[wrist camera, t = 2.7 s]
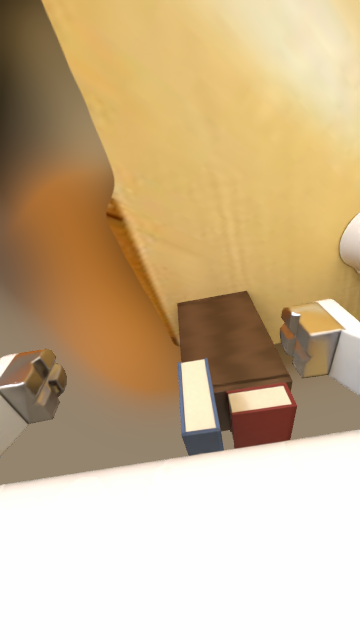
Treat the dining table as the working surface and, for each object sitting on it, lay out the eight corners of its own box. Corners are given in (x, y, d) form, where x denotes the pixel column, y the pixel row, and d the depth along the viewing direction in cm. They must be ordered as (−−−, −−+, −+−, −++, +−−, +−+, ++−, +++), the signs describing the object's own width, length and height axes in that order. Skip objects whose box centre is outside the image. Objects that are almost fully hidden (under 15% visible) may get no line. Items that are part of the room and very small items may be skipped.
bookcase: (246, 290, 57) (292, 381, 36) (247, 329, 64) (285, 422, 44) (177, 303, 58) (184, 397, 38) (185, 339, 65) (195, 434, 45)
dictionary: (285, 382, 36) (297, 405, 33) (280, 423, 44) (289, 445, 41) (225, 391, 37) (231, 415, 34) (230, 430, 44) (235, 452, 41)
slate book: (207, 357, 32) (220, 430, 25) (219, 431, 45) (230, 496, 37) (177, 362, 33) (181, 436, 25) (197, 434, 45) (204, 499, 37)
